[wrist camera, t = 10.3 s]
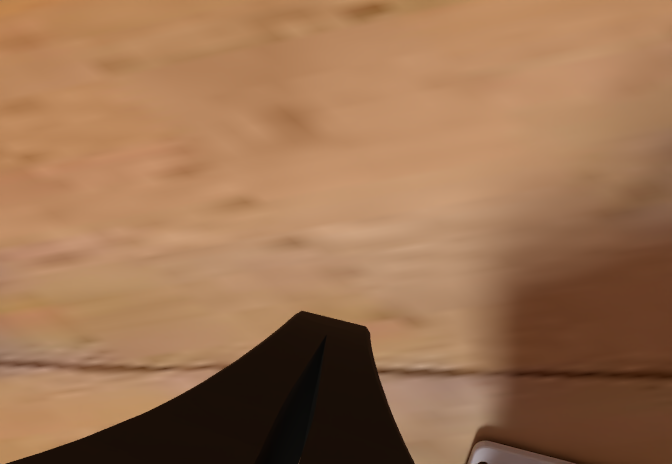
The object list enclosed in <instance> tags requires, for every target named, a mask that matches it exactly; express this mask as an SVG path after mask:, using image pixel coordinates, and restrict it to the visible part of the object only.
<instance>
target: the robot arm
mask: <svg viewBox="0 0 672 464" xmlns="http://www.w3.org/2000/svg"><path fill="white" fill-rule="evenodd" d="M481 461H482V462H487V464H576V463H572V462H568V461H564V460H560V459H557V458H553V457H549V456H545V455H541V454H537V453H533V452H530V451H526V450H522V449H518V448H514V447H510V446H506V445H503V444H499V443H495V442H491V441H480V442H478V443H476V444H475V446H474V447H473V450H472V452H471V455H470V458H469V461H468V464H478V463H479V462H481ZM298 463H299V464H415V463H414V461H413V459H412V457H411V455H410V453H409V451H408V449H407V447H406V445H405V443H404V441H403V438H402V436H401V434H400V431H399V429H398V427H397V425H396V422H395V420H394V417H393V415H392V412H391V410H390V407H389V405H388V402H387V399H386V396H385V393H384V390H383V387H382V385H381V382H380V379H379V375H378V372H377V368H376V364H375V361H374V357H373V352H372V347H371V340H370V332H369V331H368V329H367V328H366V326H362V325H358V324H354V323H350V322H345V321H341V320H337V319H333V318H329V317H325V316H321V315H317V314H313V313H309V312H305V311H301V312H299V313H297V314H295V315H294V316H293V317H292V318H291V319H290V320H289V321H287V322H286V323H285V324H284V325H283V326H281V327H280V328H279V329H278V330H277V331H275V332H274V333H273V334H272V335H270V336H269V337H268V338H267V339H265V340H264V341H263V342H261V343H260V344H259V345H257V346H256V347H255V348H253V349H252V350H250V351H249V352H248V353H246V354H245V355H244V356H242V357H241V358H239V359H238V360H237V361H235V362H234V363H232V364H231V365H229V366H227V367H226V368H224V369H223V370H221V371H219V372H218V373H216V374H215V375H213V376H212V377H210V378H208V379H207V380H205V381H204V382H202V383H200V384H199V385H197V386H195V387H194V388H192V389H190V390H188V391H186V392H185V393H183V394H181V395H179V396H177V397H176V398H174V399H172V400H170V401H168V402H166V403H164V404H162V405H160V406H158V407H156V408H154V409H152V410H150V411H148V412H146V413H143V414H141V415H139V416H136V417H134V418H131V419H129V420H126V421H124V422H122V423H119V424H117V425H114V426H112V427H109V428H107V429H104V430H102V431H100V432H97V433H95V434H92V435H90V436H87V437H85V438H82V439H79V440H77V441H74V442H71V443H68V444H65V445H62V446H59V447H56V448H53V449H51V450H48V451H45V452H42V453H39V454H35V455H32V456H29V457H26V458H23V459H19V460H16V461H13V462H10V463H6V464H298Z"/></svg>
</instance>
